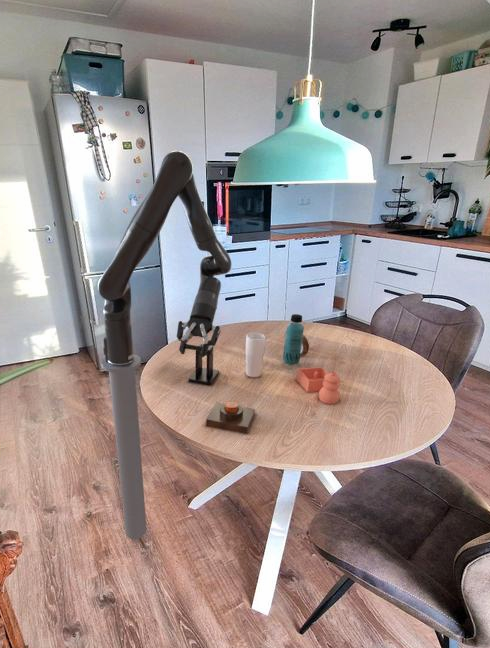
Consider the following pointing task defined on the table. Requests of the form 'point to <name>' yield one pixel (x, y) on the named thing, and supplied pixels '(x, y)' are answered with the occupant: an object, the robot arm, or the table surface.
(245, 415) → the button block
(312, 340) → the table surface
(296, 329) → the beverage bottle
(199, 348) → the lever
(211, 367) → the lever stand
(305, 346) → the brown curved piece
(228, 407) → the button
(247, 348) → the drinking glass
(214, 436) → the table surface
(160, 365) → the table surface
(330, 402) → the pottery
